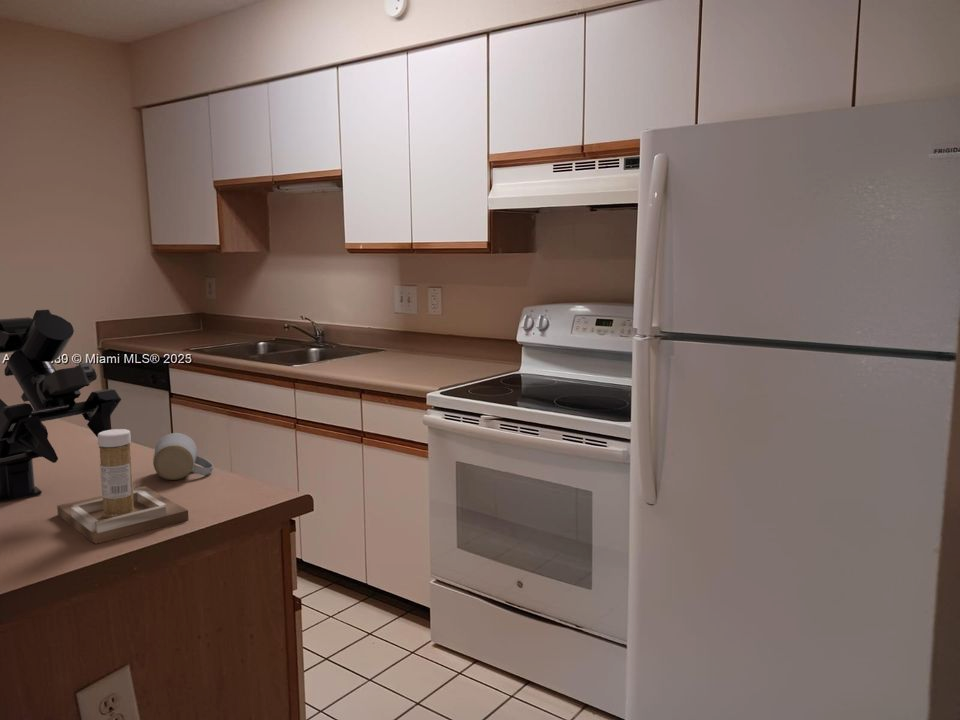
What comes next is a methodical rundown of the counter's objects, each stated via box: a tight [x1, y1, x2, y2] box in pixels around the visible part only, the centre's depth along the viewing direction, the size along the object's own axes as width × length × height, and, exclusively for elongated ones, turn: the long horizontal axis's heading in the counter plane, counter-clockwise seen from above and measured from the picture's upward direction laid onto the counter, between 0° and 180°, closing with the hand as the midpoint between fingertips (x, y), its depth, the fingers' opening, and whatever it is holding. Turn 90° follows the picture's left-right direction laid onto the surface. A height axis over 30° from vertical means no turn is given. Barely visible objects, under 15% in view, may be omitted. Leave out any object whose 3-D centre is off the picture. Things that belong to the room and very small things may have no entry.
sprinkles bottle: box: [97, 428, 135, 518], centre depth 112 cm, size 5×5×13 cm
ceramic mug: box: [152, 432, 215, 481], centre depth 138 cm, size 11×8×8 cm
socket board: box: [56, 485, 189, 545], centre depth 116 cm, size 17×14×3 cm
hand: (84, 454), depth 115 cm, fingers open, 9 cm apart
